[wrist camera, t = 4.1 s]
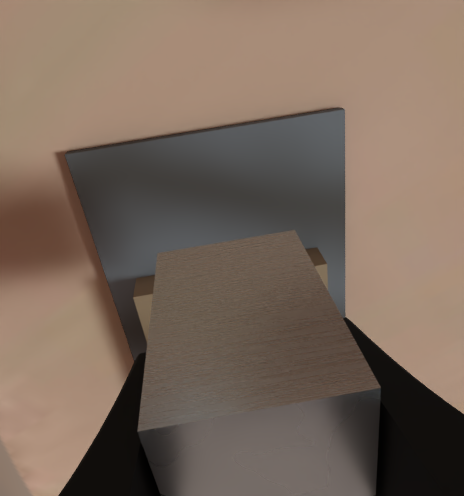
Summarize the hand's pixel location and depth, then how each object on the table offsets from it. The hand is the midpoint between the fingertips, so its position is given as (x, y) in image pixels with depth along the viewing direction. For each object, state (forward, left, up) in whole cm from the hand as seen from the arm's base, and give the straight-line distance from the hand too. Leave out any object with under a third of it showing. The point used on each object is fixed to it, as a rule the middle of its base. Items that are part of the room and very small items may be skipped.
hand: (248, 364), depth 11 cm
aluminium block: (0, 0, -3) cm, 3 cm away
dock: (-6, 0, -9) cm, 11 cm away
